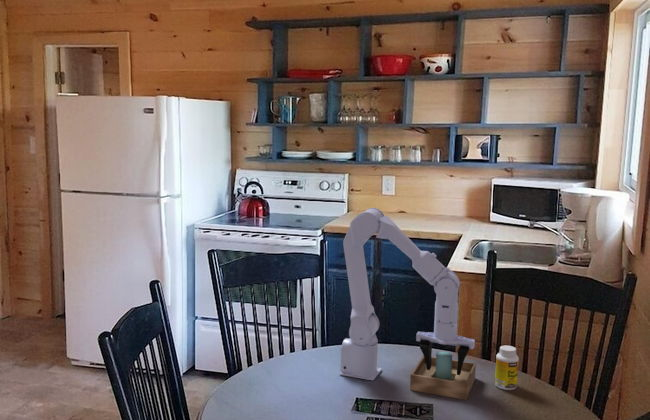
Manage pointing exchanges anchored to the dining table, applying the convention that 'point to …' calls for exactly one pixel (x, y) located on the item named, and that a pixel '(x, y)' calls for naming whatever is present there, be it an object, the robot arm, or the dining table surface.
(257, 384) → the dining table surface
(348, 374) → the robot arm
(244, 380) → the dining table surface
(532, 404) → the dining table surface
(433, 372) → the box
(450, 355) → the peg
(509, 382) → the supplement bottle
